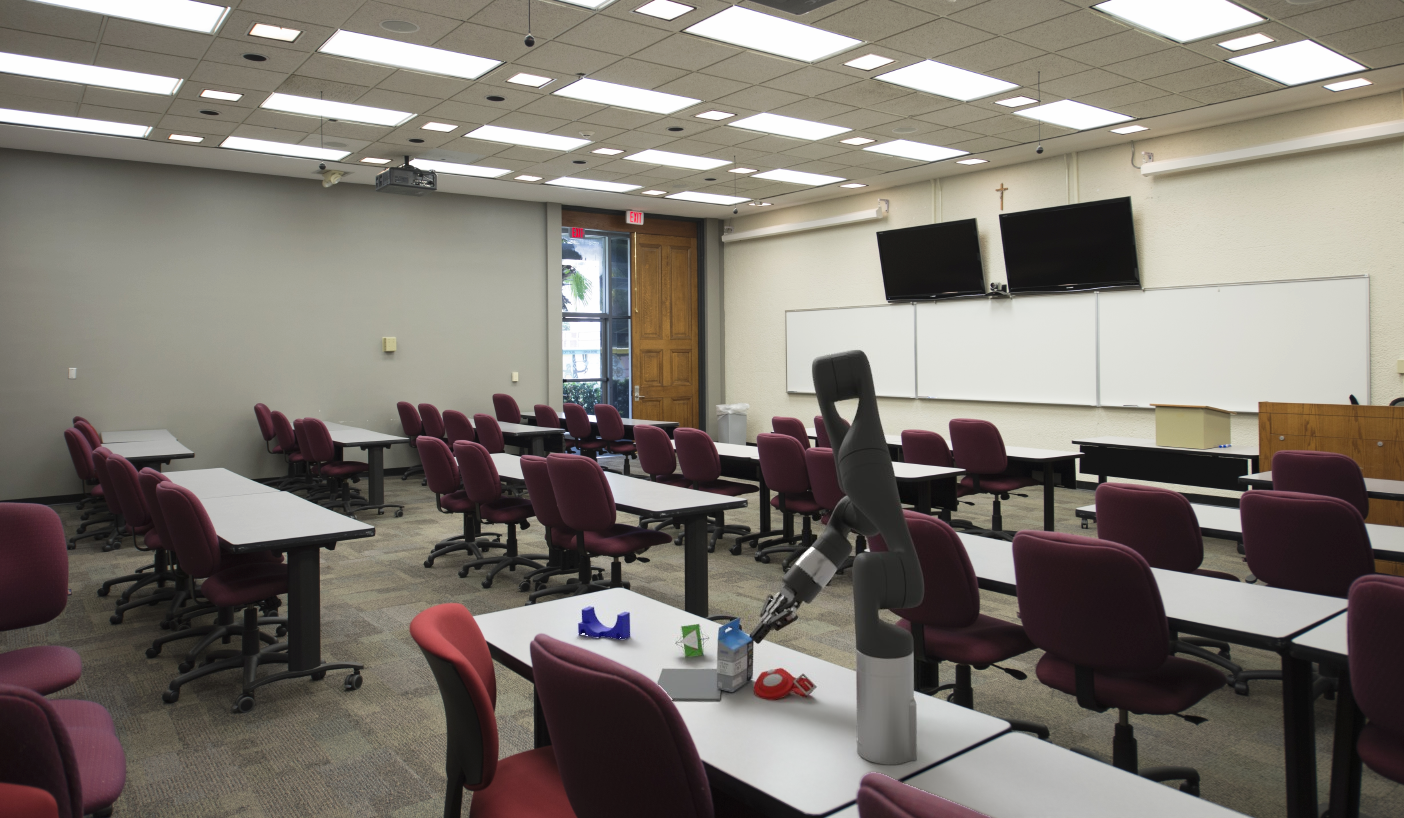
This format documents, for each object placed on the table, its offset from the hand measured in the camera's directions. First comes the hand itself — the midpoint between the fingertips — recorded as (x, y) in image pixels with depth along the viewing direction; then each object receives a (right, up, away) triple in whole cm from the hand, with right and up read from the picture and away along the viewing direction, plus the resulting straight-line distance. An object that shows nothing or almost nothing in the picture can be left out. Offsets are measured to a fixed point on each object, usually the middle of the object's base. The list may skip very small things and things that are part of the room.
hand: (753, 640), depth 172 cm
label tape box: (-4, -9, 0) cm, 10 cm away
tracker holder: (+6, -10, -4) cm, 12 cm away
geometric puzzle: (-12, -9, +19) cm, 24 cm away
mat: (-13, -9, +1) cm, 16 cm away
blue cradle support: (-34, -8, +33) cm, 48 cm away
